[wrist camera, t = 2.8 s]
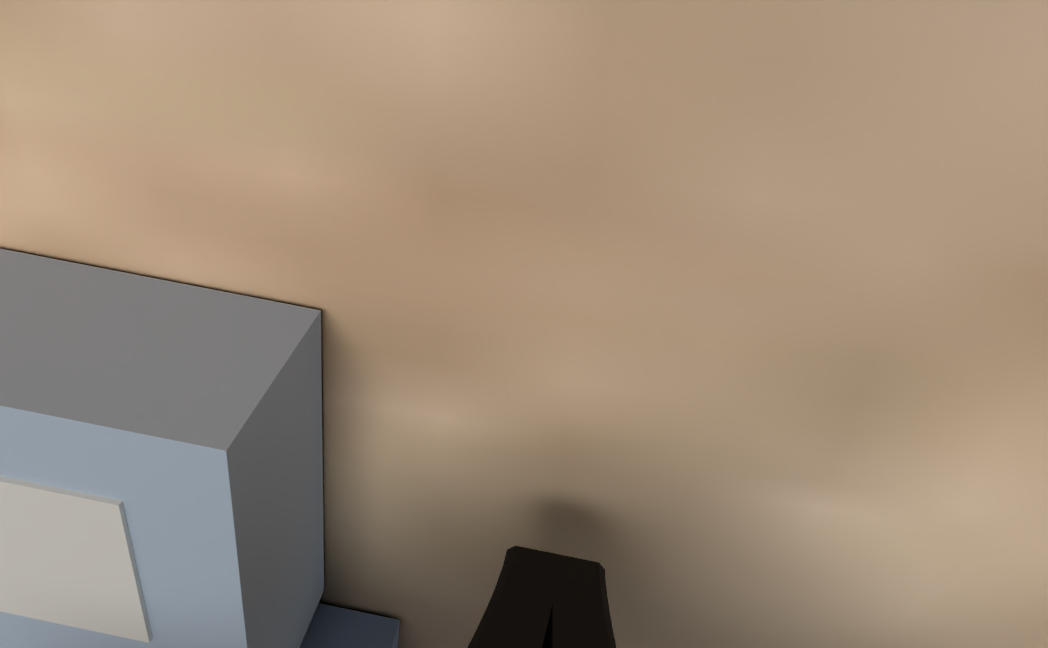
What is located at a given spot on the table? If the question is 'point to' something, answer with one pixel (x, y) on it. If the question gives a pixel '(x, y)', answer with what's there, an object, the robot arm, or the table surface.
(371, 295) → the table surface
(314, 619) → the network switch box
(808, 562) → the table surface
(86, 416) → the light blue box
